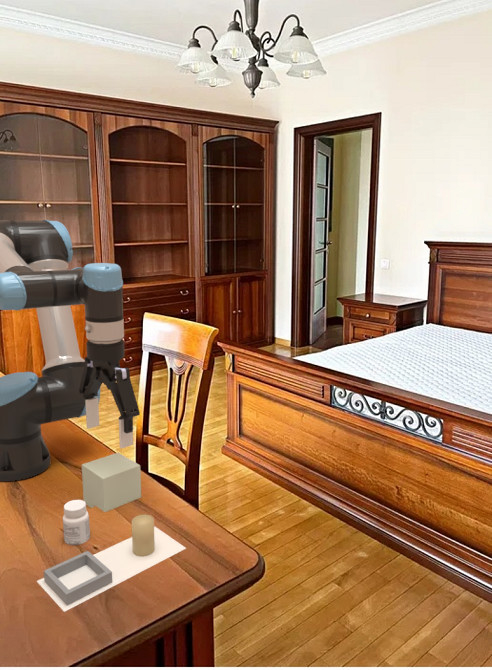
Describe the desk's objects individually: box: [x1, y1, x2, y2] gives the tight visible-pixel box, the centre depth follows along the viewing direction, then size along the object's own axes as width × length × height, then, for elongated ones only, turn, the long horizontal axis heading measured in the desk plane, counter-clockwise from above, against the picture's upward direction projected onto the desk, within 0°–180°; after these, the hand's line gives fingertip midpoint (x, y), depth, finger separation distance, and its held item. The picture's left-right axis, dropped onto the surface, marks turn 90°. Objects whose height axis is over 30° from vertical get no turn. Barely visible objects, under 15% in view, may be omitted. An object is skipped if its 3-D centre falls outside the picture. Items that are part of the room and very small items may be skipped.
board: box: [36, 514, 187, 613], centre depth 95 cm, size 10×24×8 cm, turn 134°
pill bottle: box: [62, 499, 91, 546], centre depth 103 cm, size 5×5×8 cm
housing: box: [81, 452, 142, 513], centre depth 118 cm, size 9×9×9 cm
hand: (109, 436), depth 116 cm, fingers open, 13 cm apart
